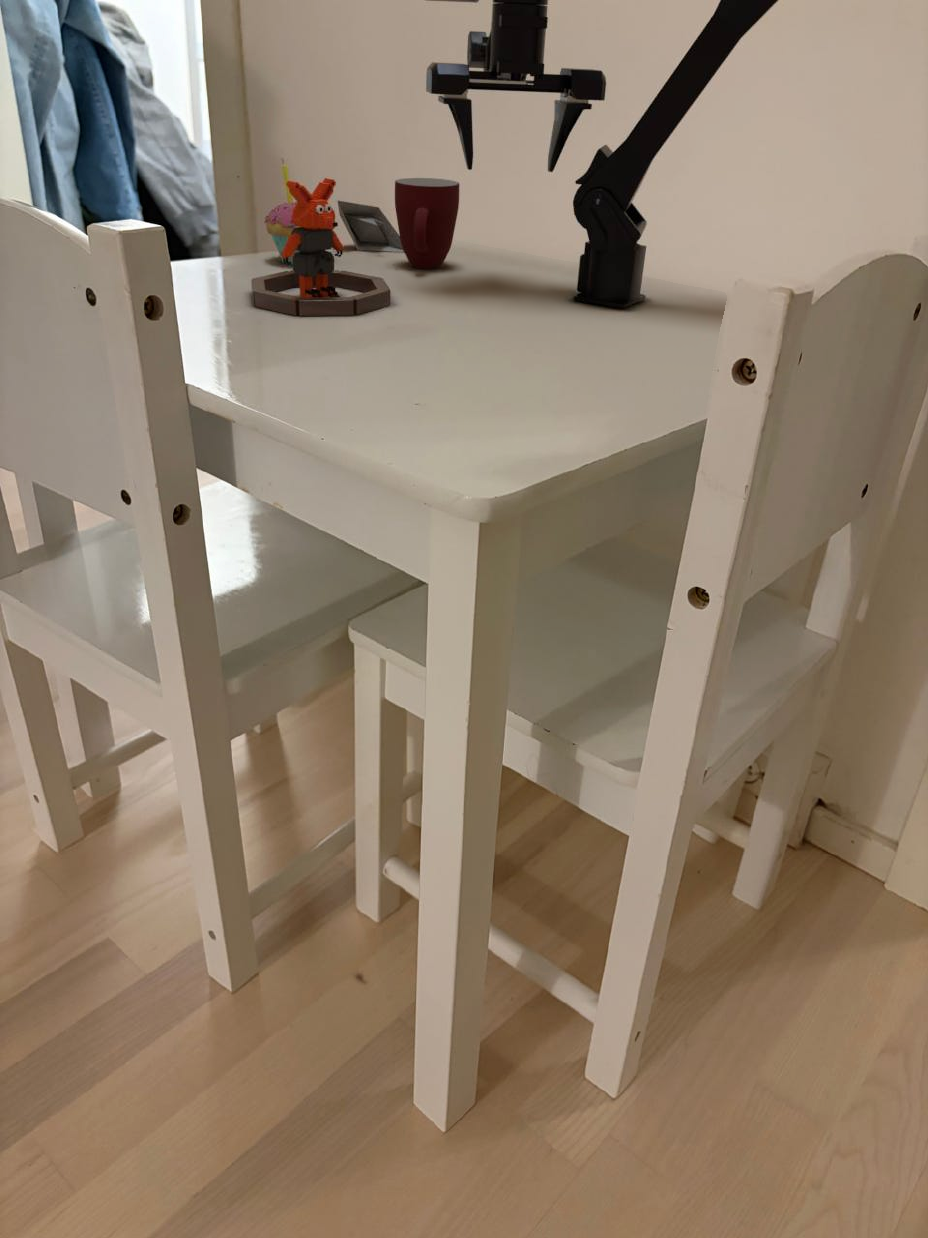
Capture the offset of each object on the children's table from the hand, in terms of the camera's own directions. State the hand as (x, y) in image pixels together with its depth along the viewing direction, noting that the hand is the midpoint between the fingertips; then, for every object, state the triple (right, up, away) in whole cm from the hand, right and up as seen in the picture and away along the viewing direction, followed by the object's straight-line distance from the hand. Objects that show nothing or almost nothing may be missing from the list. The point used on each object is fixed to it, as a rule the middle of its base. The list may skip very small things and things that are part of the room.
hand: (510, 170), depth 106 cm
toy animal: (-21, -15, -1) cm, 26 cm away
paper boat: (-18, 0, +25) cm, 31 cm away
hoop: (-21, -15, -1) cm, 26 cm away
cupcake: (-26, -4, +16) cm, 31 cm away
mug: (-10, -5, +16) cm, 20 cm away
